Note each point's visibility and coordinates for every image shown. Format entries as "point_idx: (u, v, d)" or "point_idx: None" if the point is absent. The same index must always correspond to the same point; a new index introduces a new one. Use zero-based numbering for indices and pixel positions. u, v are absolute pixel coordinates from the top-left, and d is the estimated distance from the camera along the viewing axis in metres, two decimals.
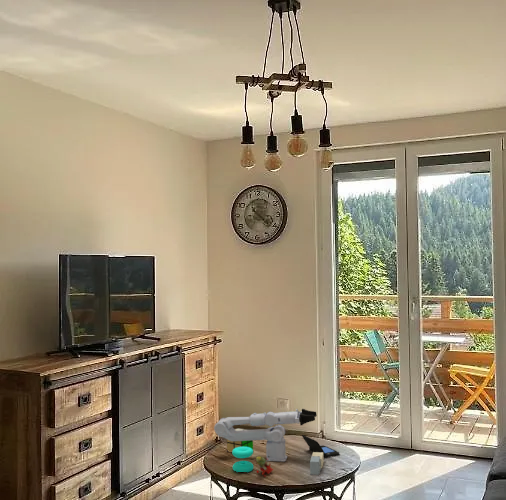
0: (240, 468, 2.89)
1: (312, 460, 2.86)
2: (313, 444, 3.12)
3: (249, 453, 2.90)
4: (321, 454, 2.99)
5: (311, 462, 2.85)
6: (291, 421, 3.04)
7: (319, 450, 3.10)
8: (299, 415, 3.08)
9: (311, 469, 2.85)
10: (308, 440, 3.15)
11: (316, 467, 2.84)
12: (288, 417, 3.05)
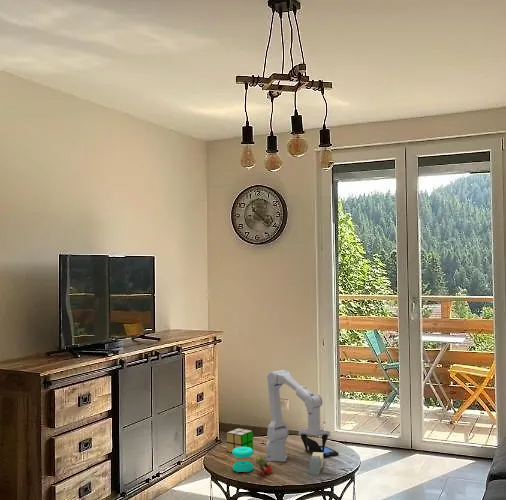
0: (240, 468, 2.89)
1: (312, 460, 2.86)
2: (312, 445, 3.12)
3: (249, 453, 2.90)
4: (321, 454, 2.99)
5: (311, 462, 2.85)
6: None
7: (318, 450, 3.10)
8: None
9: (311, 469, 2.85)
10: (307, 440, 3.15)
11: (316, 467, 2.84)
12: (308, 423, 2.88)
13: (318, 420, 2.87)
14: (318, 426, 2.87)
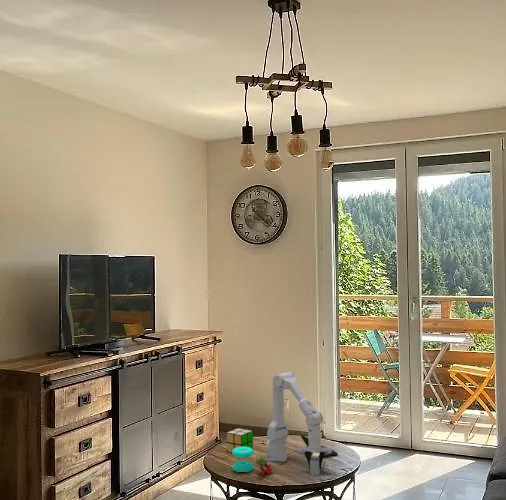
0: (240, 468, 2.89)
1: (312, 460, 2.86)
2: None
3: (249, 453, 2.90)
4: None
5: (311, 462, 2.85)
6: None
7: None
8: None
9: (311, 469, 2.85)
10: (306, 440, 3.15)
11: (316, 466, 2.84)
12: None
13: (318, 437, 2.86)
14: (318, 443, 2.86)
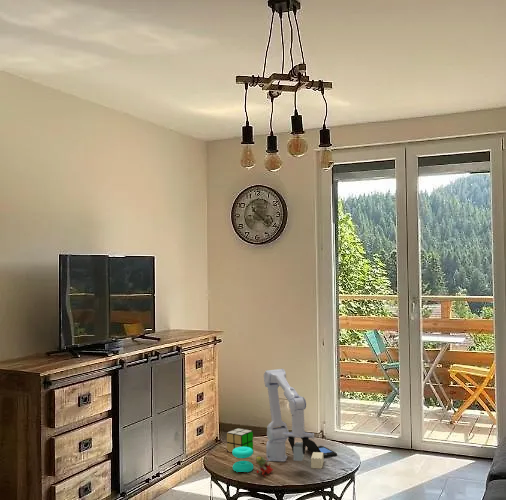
0: (240, 468, 2.89)
1: (295, 446, 2.86)
2: (310, 445, 3.12)
3: (249, 453, 2.90)
4: (321, 454, 2.99)
5: (294, 448, 2.85)
6: None
7: (316, 450, 3.10)
8: None
9: (294, 455, 2.84)
10: None
11: (300, 453, 2.84)
12: (292, 425, 2.88)
13: (301, 422, 2.86)
14: (302, 428, 2.86)
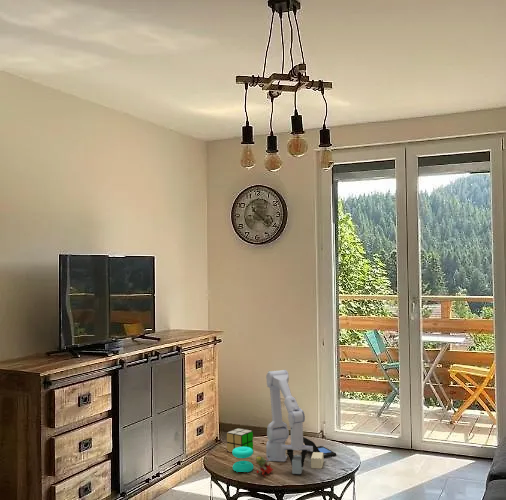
0: (240, 468, 2.89)
1: (294, 459, 2.86)
2: (310, 445, 3.12)
3: (249, 453, 2.90)
4: (321, 454, 2.99)
5: (293, 461, 2.84)
6: None
7: (316, 451, 3.10)
8: None
9: (293, 468, 2.84)
10: (305, 440, 3.14)
11: (298, 466, 2.84)
12: None
13: (299, 435, 2.86)
14: (301, 441, 2.86)
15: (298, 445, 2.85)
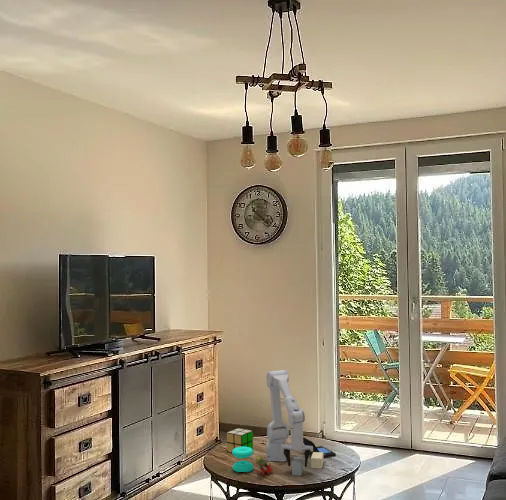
0: (240, 468, 2.89)
1: (294, 461, 2.86)
2: (309, 445, 3.12)
3: (249, 453, 2.90)
4: (321, 454, 2.99)
5: (293, 463, 2.84)
6: None
7: (315, 451, 3.10)
8: None
9: (293, 470, 2.84)
10: (304, 440, 3.14)
11: (298, 468, 2.84)
12: None
13: (299, 435, 2.86)
14: (301, 441, 2.86)
15: (298, 445, 2.85)
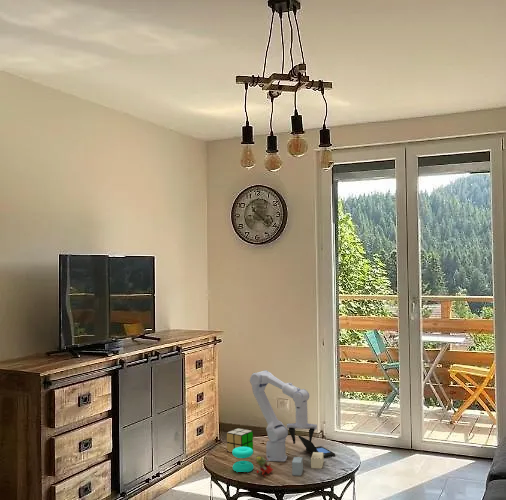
0: (240, 468, 2.89)
1: (294, 461, 2.86)
2: (308, 445, 3.12)
3: (249, 453, 2.90)
4: (321, 454, 2.99)
5: (293, 463, 2.84)
6: None
7: (314, 451, 3.09)
8: None
9: (293, 470, 2.84)
10: (304, 440, 3.14)
11: (298, 467, 2.84)
12: None
13: (306, 414, 2.98)
14: (305, 420, 2.97)
15: (303, 423, 2.97)
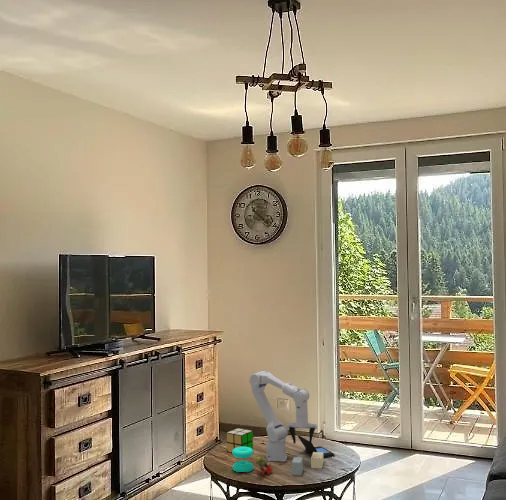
0: (240, 468, 2.89)
1: (294, 461, 2.86)
2: (308, 445, 3.12)
3: (249, 453, 2.90)
4: (321, 454, 2.99)
5: (293, 463, 2.84)
6: None
7: (313, 451, 3.09)
8: None
9: (293, 470, 2.84)
10: (303, 441, 3.14)
11: (298, 467, 2.84)
12: (296, 416, 3.00)
13: (306, 413, 2.98)
14: (305, 419, 2.98)
15: (303, 423, 2.97)
